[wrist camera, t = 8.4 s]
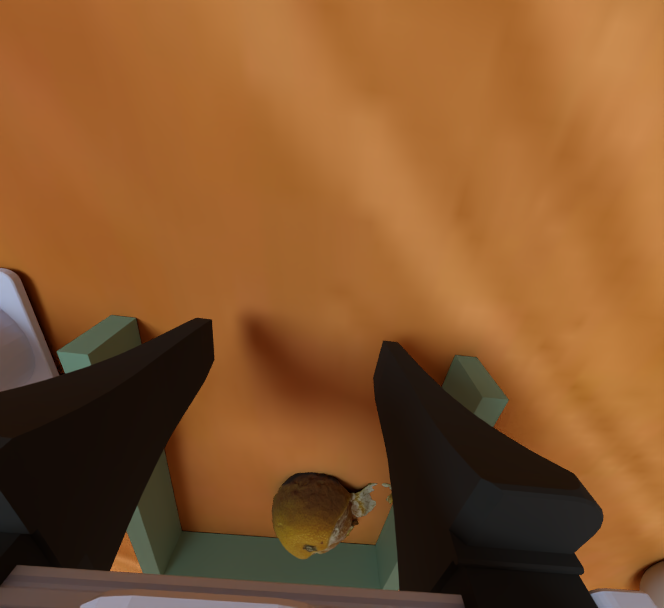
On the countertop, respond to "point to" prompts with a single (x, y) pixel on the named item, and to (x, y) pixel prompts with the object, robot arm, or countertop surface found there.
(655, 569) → the pump dispenser
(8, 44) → the countertop surface
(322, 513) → the fruit
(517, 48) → the countertop surface
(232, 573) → the green u-shaped bracket
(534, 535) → the robot arm
